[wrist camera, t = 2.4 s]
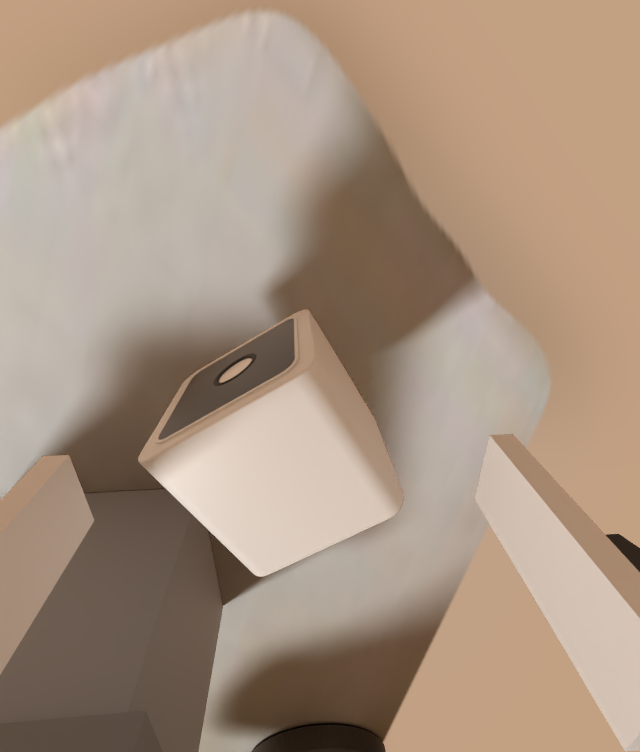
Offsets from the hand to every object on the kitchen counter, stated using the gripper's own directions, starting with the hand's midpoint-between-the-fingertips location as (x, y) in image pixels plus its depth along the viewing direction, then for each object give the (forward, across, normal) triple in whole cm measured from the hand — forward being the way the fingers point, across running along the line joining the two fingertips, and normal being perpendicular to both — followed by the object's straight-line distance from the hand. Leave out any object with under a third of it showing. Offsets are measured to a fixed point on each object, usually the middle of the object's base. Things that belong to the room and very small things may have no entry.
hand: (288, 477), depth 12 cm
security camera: (+10, 0, 0) cm, 10 cm away
